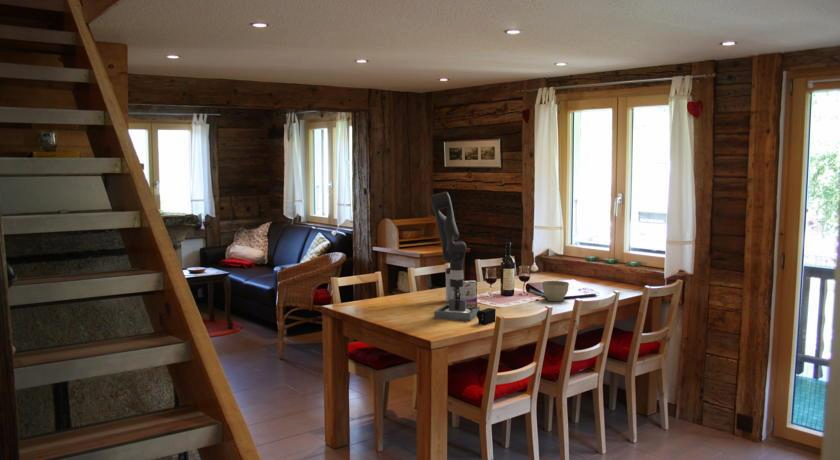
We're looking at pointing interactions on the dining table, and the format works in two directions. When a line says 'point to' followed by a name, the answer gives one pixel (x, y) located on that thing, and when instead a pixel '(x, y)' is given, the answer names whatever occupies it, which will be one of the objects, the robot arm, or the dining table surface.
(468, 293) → the candy bar box
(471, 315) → the dial housing
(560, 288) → the planter bowl
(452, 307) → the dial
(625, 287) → the dining table surface
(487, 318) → the digital camera
